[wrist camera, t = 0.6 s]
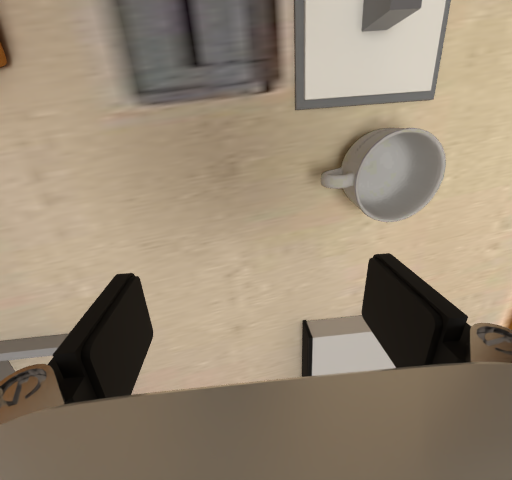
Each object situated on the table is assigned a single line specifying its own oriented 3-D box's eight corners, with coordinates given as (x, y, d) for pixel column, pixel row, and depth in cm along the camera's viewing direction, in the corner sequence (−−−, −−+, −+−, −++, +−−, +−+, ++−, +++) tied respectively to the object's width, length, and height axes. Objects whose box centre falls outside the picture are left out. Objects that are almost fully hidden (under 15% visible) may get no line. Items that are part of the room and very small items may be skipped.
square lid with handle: (304, -78, 27) (325, -139, 21) (456, -85, 27) (519, -145, 21) (304, 100, 33) (319, 93, 27) (427, 91, 34) (469, 82, 28)
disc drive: (301, 318, 48) (308, 338, 43) (421, 306, 49) (440, 324, 44) (300, 386, 55) (307, 409, 50) (405, 374, 56) (421, 396, 51)
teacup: (417, 134, 36) (463, 135, 29) (391, 209, 40) (426, 227, 33) (320, 118, 35) (343, 116, 27) (303, 199, 39) (319, 216, 31)
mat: (293, -88, 27) (294, -92, 26) (464, -95, 27) (468, -99, 27) (295, 109, 34) (296, 109, 33) (430, 99, 35) (433, 99, 34)
